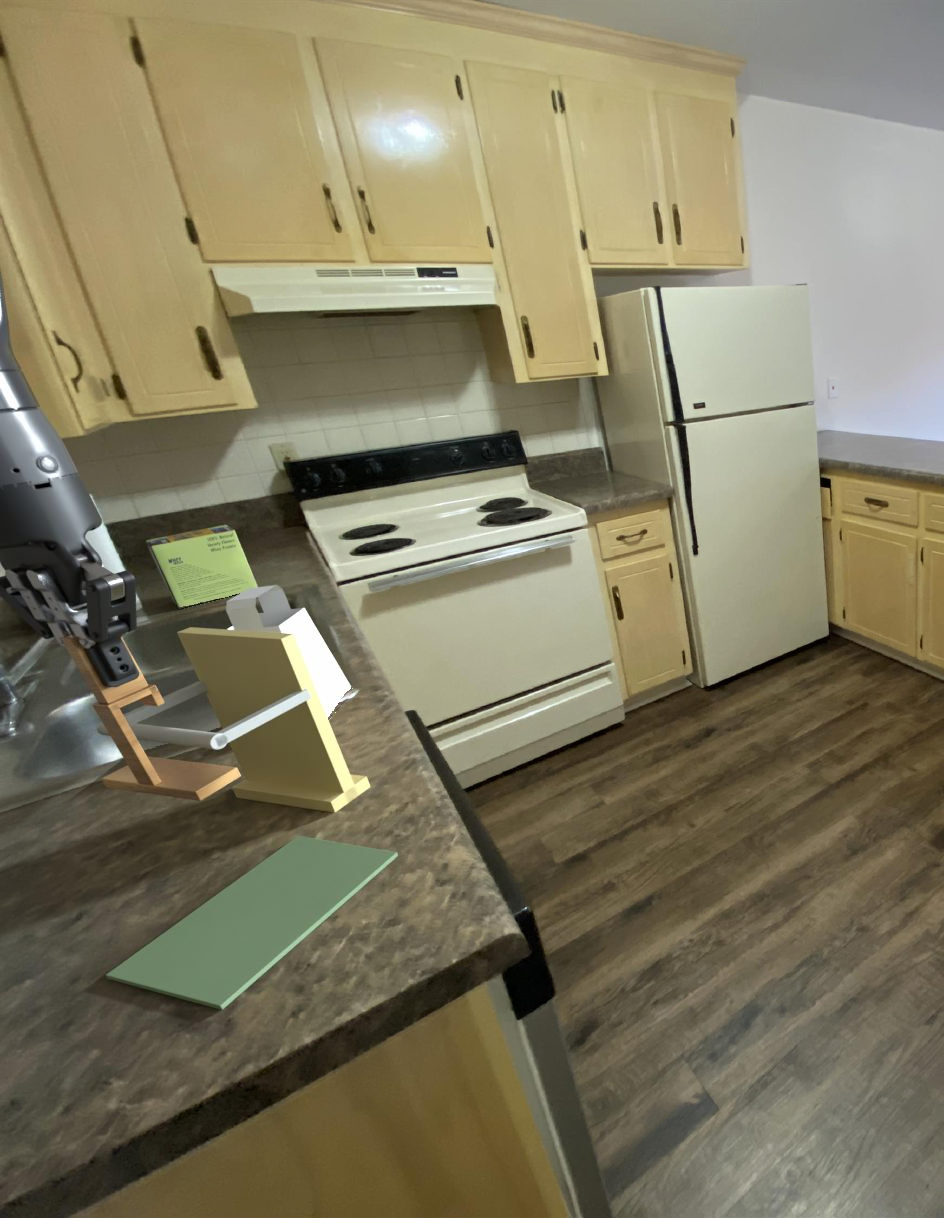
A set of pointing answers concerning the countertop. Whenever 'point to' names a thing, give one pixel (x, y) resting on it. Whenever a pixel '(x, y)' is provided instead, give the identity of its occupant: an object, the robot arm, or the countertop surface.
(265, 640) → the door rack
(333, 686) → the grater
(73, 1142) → the countertop surface
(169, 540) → the protein box
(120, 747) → the phone stand
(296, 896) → the mat
